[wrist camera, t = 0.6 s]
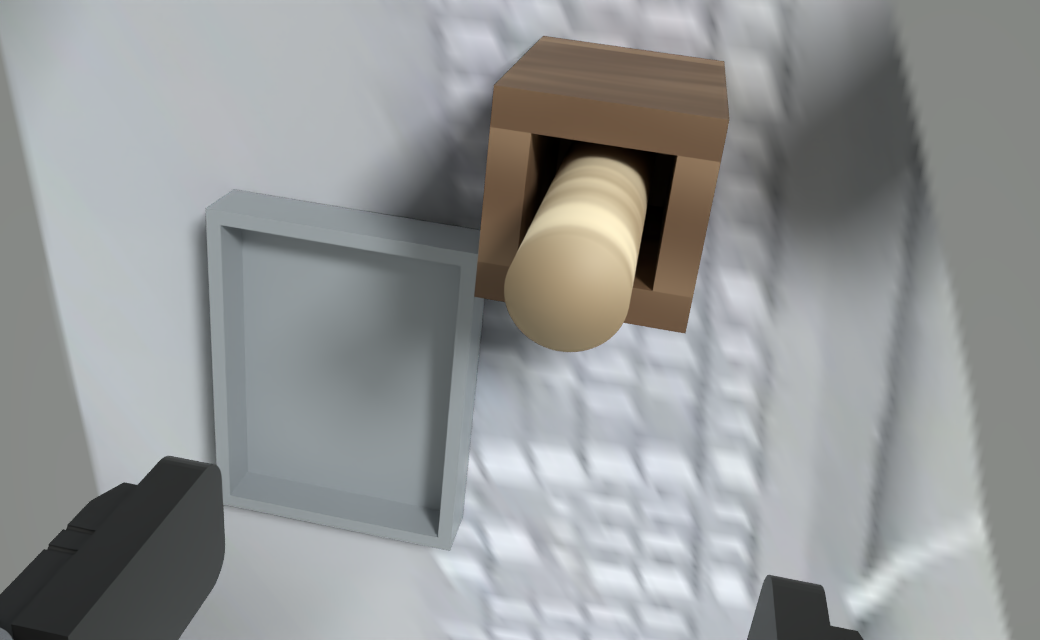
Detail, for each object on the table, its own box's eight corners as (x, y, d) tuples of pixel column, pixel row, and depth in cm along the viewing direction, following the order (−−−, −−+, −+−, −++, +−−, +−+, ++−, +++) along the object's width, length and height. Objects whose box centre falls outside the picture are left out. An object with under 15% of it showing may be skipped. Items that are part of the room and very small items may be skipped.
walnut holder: (543, 35, 35) (494, 85, 27) (724, 61, 34) (729, 120, 26) (523, 206, 38) (474, 296, 30) (690, 233, 37) (685, 333, 29)
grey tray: (233, 189, 40) (205, 208, 37) (491, 231, 38) (477, 254, 36) (241, 472, 46) (217, 503, 44) (462, 517, 45) (450, 550, 42)
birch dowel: (581, 98, 34) (510, 225, 22) (664, 110, 34) (639, 247, 22) (571, 177, 36) (498, 340, 23) (650, 189, 35) (619, 361, 23)
